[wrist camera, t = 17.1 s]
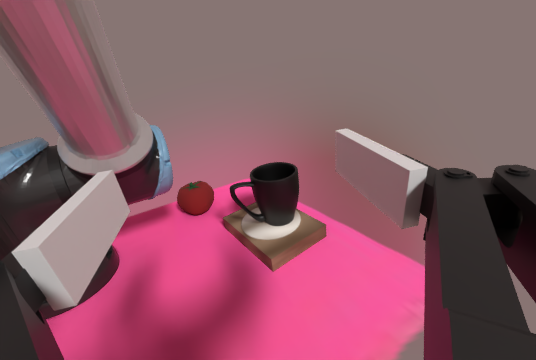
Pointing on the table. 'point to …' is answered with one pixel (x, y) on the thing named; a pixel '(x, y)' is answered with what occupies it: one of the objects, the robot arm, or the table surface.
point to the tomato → (195, 197)
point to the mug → (272, 193)
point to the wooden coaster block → (275, 235)
